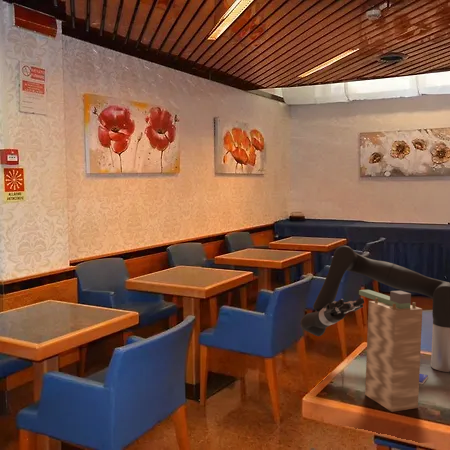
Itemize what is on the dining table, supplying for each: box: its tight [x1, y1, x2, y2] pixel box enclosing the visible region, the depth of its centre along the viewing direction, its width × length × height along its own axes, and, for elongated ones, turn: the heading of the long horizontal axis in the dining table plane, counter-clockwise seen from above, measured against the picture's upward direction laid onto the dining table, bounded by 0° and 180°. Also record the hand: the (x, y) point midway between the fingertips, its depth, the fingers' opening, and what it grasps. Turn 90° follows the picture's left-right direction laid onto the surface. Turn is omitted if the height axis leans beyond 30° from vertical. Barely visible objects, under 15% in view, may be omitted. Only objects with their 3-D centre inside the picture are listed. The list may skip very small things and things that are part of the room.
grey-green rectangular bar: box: [358, 289, 412, 309], centre depth 173 cm, size 22×4×5 cm, turn 20°
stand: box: [364, 298, 423, 413], centre depth 169 cm, size 14×10×34 cm
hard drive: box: [419, 373, 429, 385], centre depth 192 cm, size 2×8×12 cm
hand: (352, 300), depth 190 cm, fingers open, 8 cm apart
